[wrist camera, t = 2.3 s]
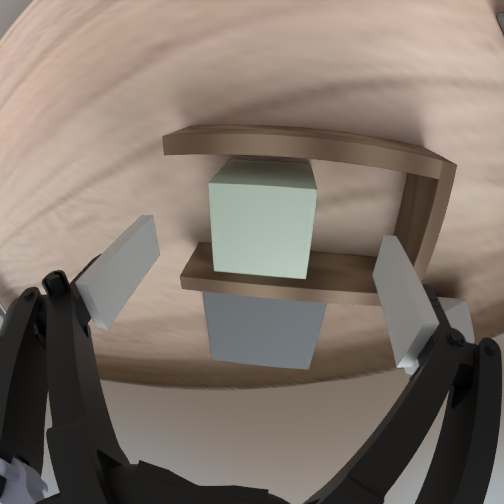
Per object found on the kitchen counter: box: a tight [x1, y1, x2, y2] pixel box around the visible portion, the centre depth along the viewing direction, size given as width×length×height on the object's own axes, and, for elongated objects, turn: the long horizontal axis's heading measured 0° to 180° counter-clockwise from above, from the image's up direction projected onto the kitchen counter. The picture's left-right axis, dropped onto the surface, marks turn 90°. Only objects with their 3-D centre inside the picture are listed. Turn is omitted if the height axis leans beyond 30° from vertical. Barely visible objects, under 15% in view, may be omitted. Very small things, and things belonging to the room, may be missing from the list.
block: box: [208, 160, 317, 279], centre depth 19 cm, size 6×6×6 cm
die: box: [404, 297, 474, 375], centre depth 22 cm, size 8×9×10 cm
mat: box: [203, 291, 327, 369], centre depth 29 cm, size 12×12×1 cm
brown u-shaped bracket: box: [163, 125, 457, 306], centre depth 19 cm, size 18×11×5 cm, turn 90°
